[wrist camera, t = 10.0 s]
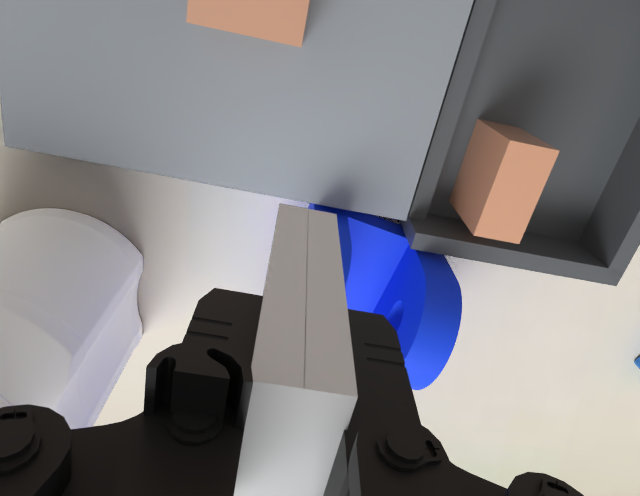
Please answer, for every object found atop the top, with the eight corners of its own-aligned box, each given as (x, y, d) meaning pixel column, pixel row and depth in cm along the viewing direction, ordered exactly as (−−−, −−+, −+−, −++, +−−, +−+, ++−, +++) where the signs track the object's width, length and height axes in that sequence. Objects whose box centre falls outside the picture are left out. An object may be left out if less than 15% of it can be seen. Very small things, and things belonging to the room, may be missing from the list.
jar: (-16, 195, 29) (-299, 354, 16) (144, 220, 30) (5, 391, 16) (6, 345, 34) (-194, 563, 21) (143, 362, 35) (35, 583, 21)
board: (30, 134, 27) (4, 146, 25) (9, -173, 21) (-27, -194, 19) (399, 205, 30) (405, 220, 27) (476, -57, 23) (493, -64, 21)
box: (399, 220, 30) (410, 248, 26) (489, -79, 23) (521, -96, 19) (581, 254, 31) (616, 286, 28) (719, -20, 24) (789, -26, 21)
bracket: (314, 192, 29) (314, 261, 21) (434, 236, 31) (476, 316, 23) (229, 398, 37) (206, 507, 29) (329, 426, 38) (333, 537, 30)
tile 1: (473, 235, 24) (519, 244, 25) (509, 140, 22) (559, 150, 22) (448, 200, 29) (487, 208, 29) (477, 118, 27) (519, 127, 27)
